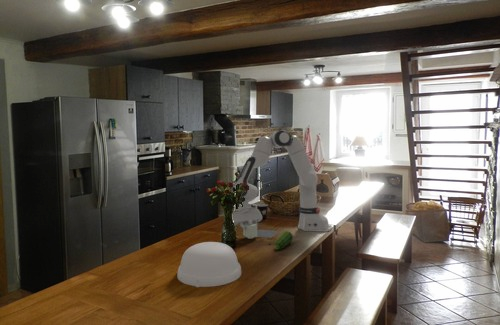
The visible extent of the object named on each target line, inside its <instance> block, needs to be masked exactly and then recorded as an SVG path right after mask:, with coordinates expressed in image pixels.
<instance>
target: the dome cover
mask: <svg viewBox="0 0 500 325" xmlns="http://www.w3.org/2000/svg"><path fill="white" fill-rule="evenodd" d="M238 261H239V260H238V257H237V254H236V252H235V251H234V249H233V248H232V247H231V246H229V245H228V244H226V243H223V242H219V241H217V242H216V241H205V242H204V241H203V242H200V243H196V244H194V245H192V246H190V247H188V248H187V249H186V250H185V251H184V253H183V255H182V257H181V261H180V265H179V266H178V269H177V276H176V277H177V279H178V281H179V282H181V283H183V284H185V285H188V286H193V287H195V288H200V287H203V288H207V287H216V286H222V285H228V284H230V283H232V282H235V281H236V280H238V279H239V278H240V277H241V276H242V266H241V264H240V262H238Z"/></svg>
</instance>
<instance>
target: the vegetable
mask: <svg viewBox="0 0 500 325" xmlns="http://www.w3.org/2000/svg"><path fill="white" fill-rule="evenodd" d="M293 240H294V238H293V234H292V233H291V232H290V231H283V232H282V233H281V234H280V235H279V237H278V238H277V239H276V241H275V243H274V250H277V251H282V250H283V249H284V248H285V247H286V246H288V245H290V244H291V243H292V241H293Z"/></svg>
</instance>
